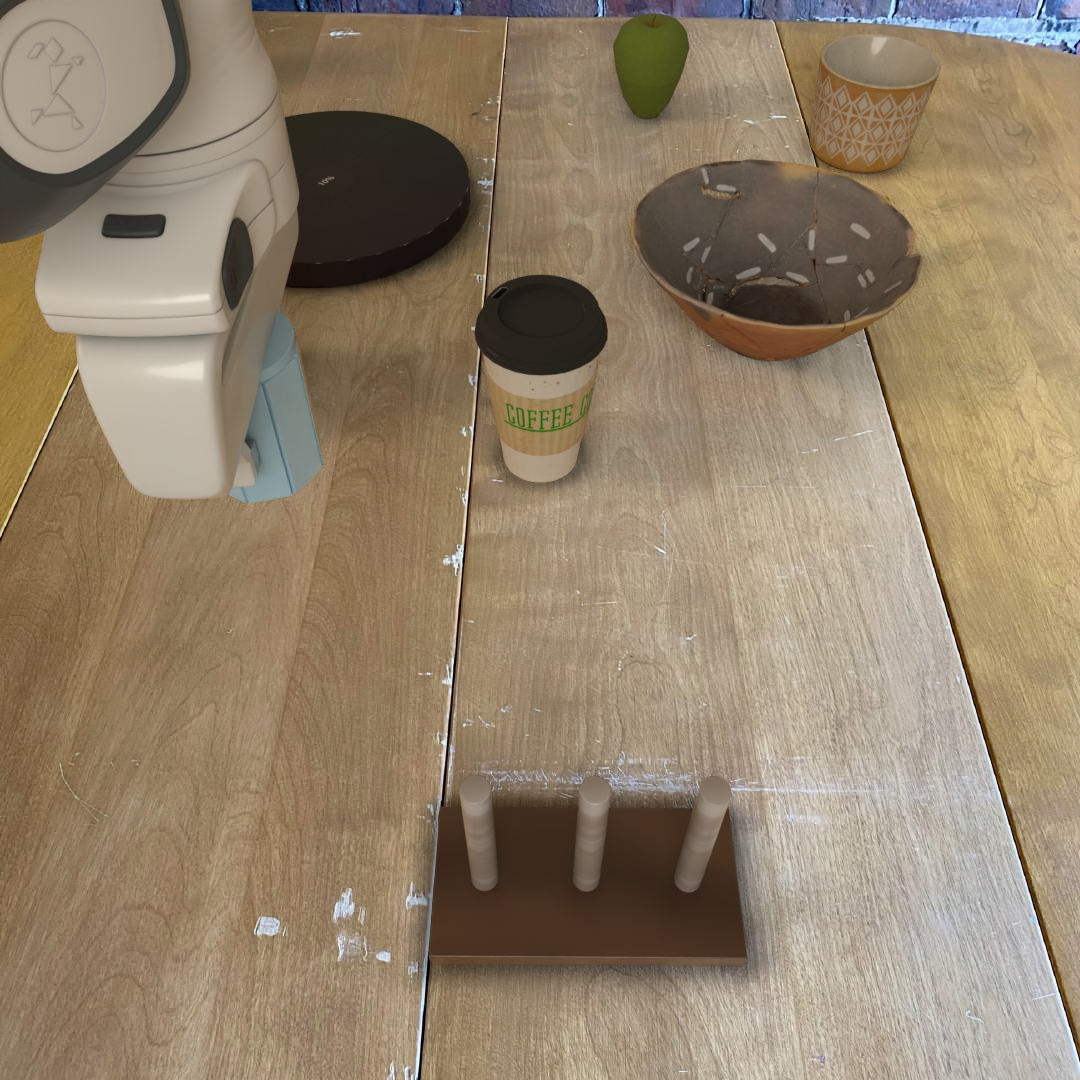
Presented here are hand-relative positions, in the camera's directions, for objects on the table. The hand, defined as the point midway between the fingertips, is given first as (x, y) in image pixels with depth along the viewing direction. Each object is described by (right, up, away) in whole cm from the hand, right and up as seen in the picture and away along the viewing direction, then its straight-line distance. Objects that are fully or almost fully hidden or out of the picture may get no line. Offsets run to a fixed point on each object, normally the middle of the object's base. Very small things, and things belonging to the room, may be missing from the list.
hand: (255, 423), depth 50 cm
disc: (-8, +30, +57) cm, 65 cm away
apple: (+27, +46, +70) cm, 88 cm away
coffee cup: (+14, +1, +33) cm, 36 cm away
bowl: (+35, +14, +44) cm, 58 cm away
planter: (+51, +39, +64) cm, 91 cm away
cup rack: (+17, -27, +10) cm, 33 cm away
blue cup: (0, -2, +2) cm, 3 cm away
